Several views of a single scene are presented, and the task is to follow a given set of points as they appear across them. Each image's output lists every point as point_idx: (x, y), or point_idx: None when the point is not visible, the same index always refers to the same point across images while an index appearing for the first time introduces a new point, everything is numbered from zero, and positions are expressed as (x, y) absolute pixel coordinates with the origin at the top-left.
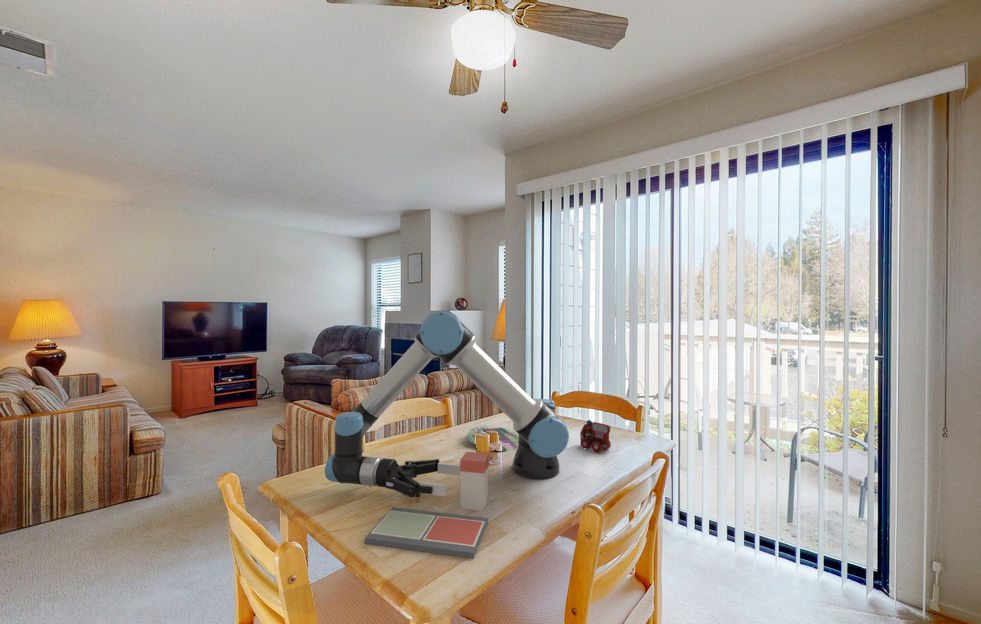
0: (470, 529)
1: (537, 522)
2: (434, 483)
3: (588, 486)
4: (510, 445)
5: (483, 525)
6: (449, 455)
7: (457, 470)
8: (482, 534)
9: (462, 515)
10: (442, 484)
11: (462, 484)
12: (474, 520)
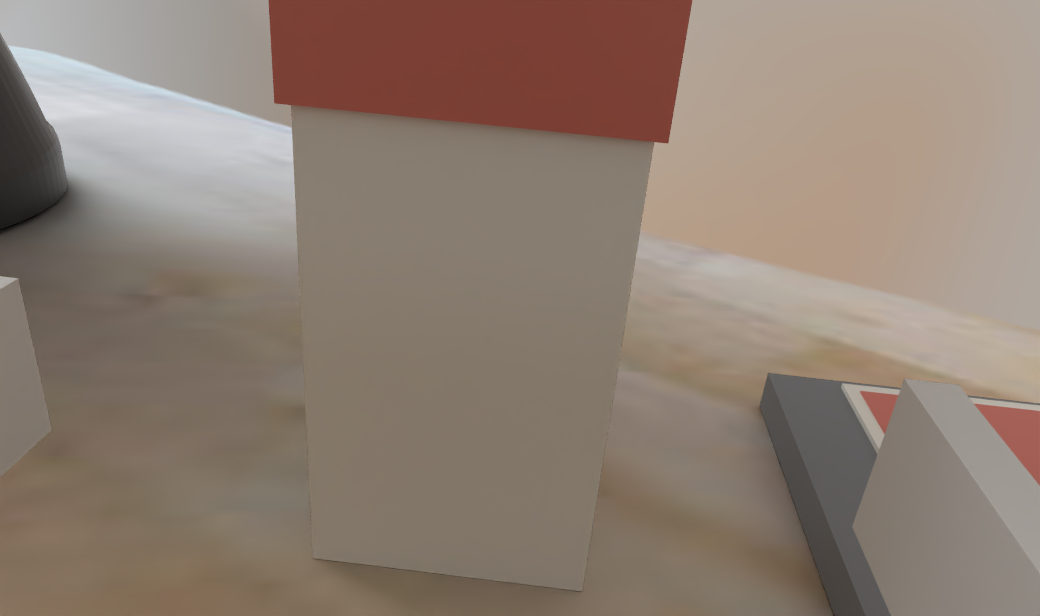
0: (1032, 447)
1: (640, 255)
2: (1028, 530)
3: (231, 132)
4: None
5: (891, 393)
6: None
7: (11, 380)
8: None
9: (835, 514)
10: (950, 416)
11: (620, 320)
12: (872, 431)
